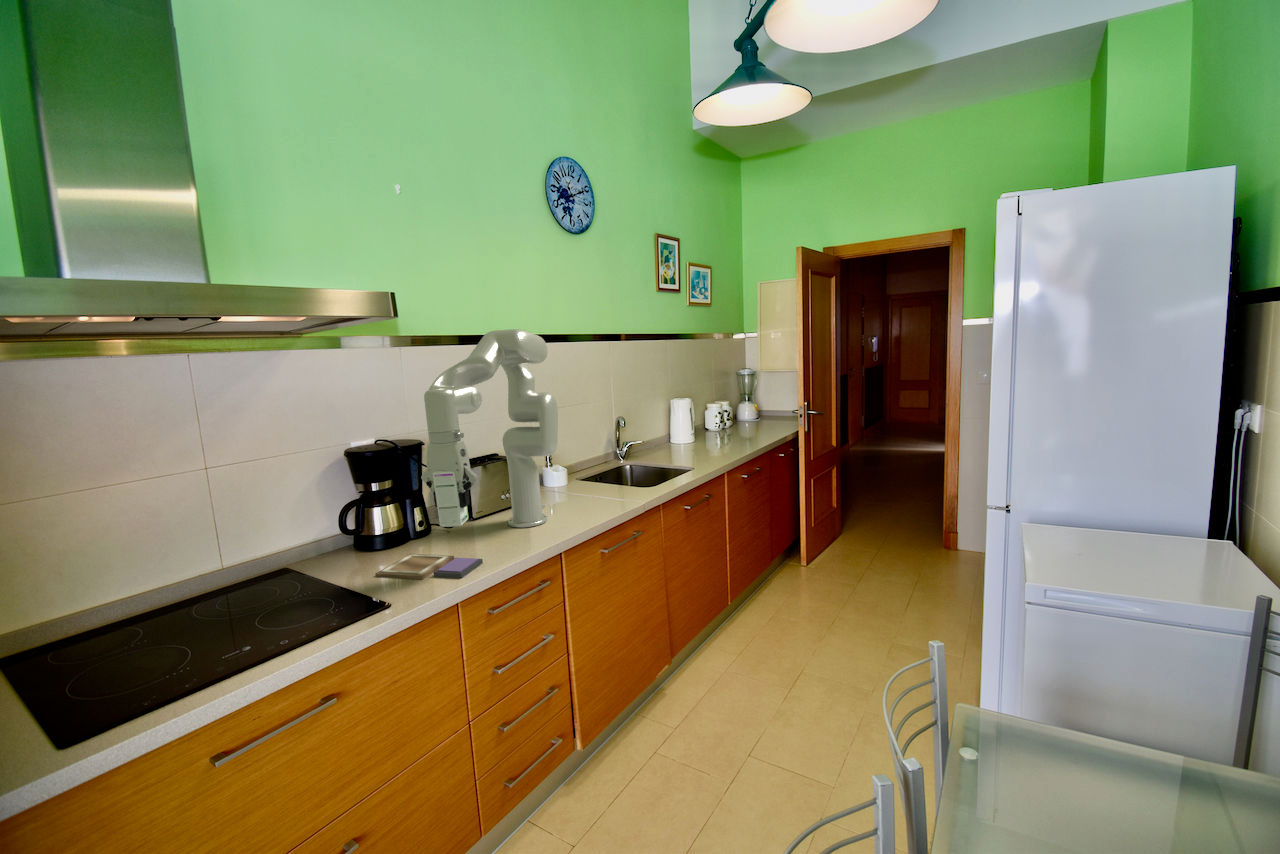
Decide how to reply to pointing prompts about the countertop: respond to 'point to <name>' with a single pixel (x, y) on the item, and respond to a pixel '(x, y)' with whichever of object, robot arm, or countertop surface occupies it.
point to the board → (415, 566)
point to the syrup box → (448, 500)
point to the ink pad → (458, 567)
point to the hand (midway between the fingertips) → (452, 505)
